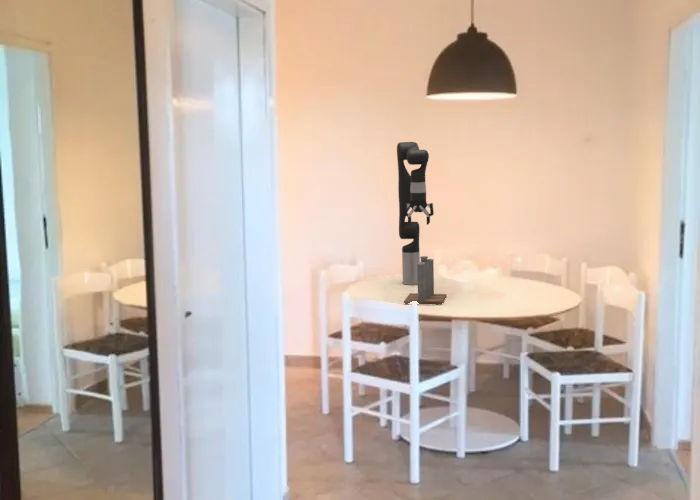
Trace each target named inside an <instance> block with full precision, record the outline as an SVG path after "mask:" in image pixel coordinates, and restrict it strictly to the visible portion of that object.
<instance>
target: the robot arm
mask: <svg viewBox="0 0 700 500" xmlns="http://www.w3.org/2000/svg"><path fill="white" fill-rule="evenodd" d="M396 157H397V171H398V208H399V209H398V211H399V213H398V236H399V238H400V239H401V240H412V241H411V242H409V243H408V244H406V245H403V246H402V248H401V256H402V257H401V258H402V284H403V285H408V286H409V285H410V286H411V285H412V286H414V285H418V277H417V264H418V263H419V262H421V259H420V257H421V255H420V223H419V222H418V221H412V214H414V213H424V214H425V216H426V225H427V226H428V225H429V224H430V223H431V217H433V216H434V215H435V212H434V203H433V202H429V203H427V184H426V172H427V166H428V163H429V158H430V154H429V152H428V151H427V150H426V149H420V147H419V144H418V143H417V142H416V141H404V142H403V141H402V142H401V141H400V142H398V143H397V145H396ZM404 161H406V162H407V164H409V165H412V166H414V165H415V166H416V165H420V166H419V168H416V169H411V171H410V173H409V172H408V169H407V167H406V165H405V162H404ZM427 207H428V208H429V211H430V213H429V211H428V209H427ZM410 209H411V210H410ZM406 217H407V221H406Z"/></svg>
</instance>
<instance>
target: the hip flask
mask: <svg viewBox="0 0 700 500" xmlns="http://www.w3.org/2000/svg"><path fill="white" fill-rule="evenodd" d="M434 266H435V265H434V259H433V258H429V256H427V255H424V256H422V255H420V262H419V263H418V264H417V277H418V284H417V294H418V301H424V300H425V299H426V298H428V297H430V296H433V295H434V294H435V284H434V283H435V281H434V280H435V279H434V274H435V273H434V271H435V270H434Z"/></svg>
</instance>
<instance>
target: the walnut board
mask: <svg viewBox="0 0 700 500" xmlns="http://www.w3.org/2000/svg"><path fill="white" fill-rule="evenodd" d="M447 295H448V294H447V293H434V295H433V296H430V297H428V298H426V299H425V300H424V301H418V293H409V294H408V295H407V296H406V298H405V299H404V300H403V304H404V303H405V304H404V305H409V304H408V303H410V302H412V301H417V302H418V303H419V304H442V303H443V304H444V302H445V301H444V300H446V299H447ZM445 298H446V299H445ZM443 301H444V302H443ZM443 304H442V305H443Z"/></svg>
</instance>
